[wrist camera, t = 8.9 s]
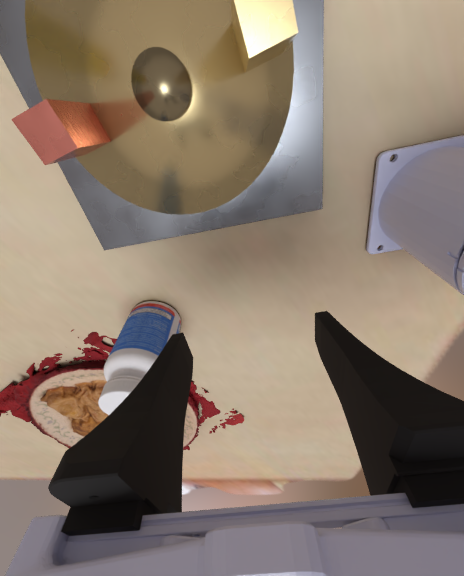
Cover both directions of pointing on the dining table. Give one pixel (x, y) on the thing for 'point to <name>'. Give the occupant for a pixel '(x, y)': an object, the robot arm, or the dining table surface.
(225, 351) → the dining table surface
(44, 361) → the plate with food
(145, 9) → the brass cymbal
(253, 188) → the cap plate
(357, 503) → the robot arm
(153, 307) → the pill bottle
